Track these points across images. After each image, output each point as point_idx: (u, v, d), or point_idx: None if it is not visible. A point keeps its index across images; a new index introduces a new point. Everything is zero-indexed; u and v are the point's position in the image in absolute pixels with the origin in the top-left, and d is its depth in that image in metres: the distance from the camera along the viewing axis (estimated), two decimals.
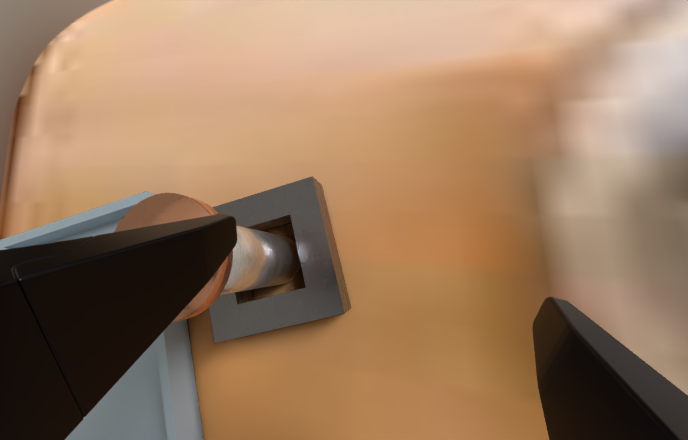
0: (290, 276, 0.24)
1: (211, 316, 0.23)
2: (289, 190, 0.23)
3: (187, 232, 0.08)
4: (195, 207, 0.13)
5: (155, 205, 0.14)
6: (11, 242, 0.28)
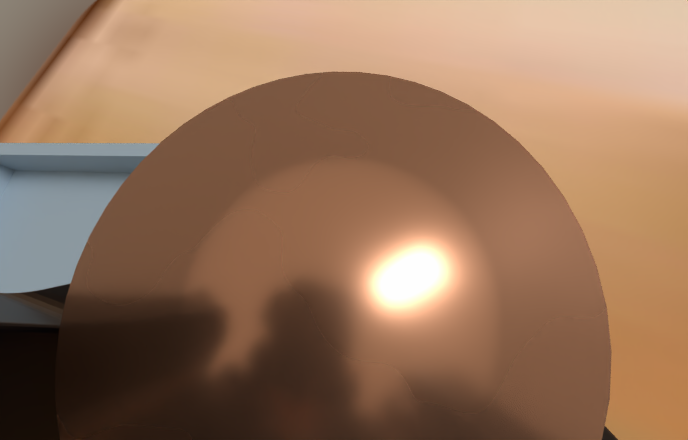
0: None
1: None
2: None
3: None
4: (494, 146, 0.03)
5: (334, 101, 0.04)
6: None
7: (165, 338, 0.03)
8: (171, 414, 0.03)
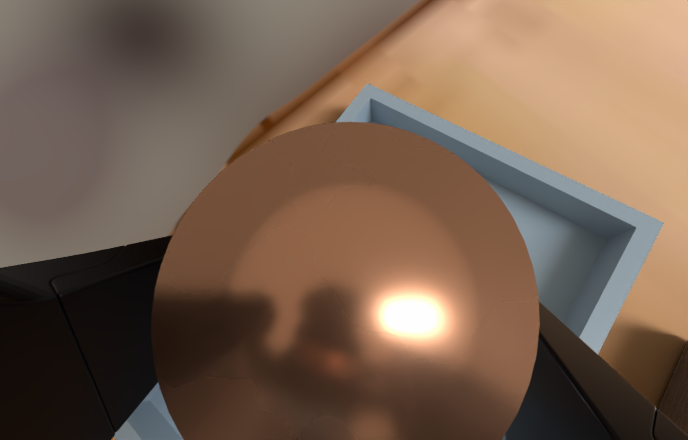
0: None
1: None
2: None
3: None
4: (467, 180, 0.05)
5: (350, 144, 0.05)
6: (385, 101, 0.18)
7: (231, 317, 0.04)
8: (239, 369, 0.04)
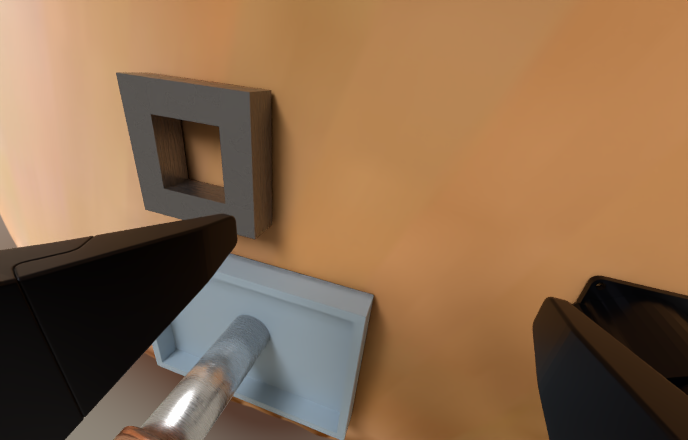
0: (252, 327, 0.28)
1: None
2: (128, 104, 0.21)
3: (187, 232, 0.08)
4: None
5: None
6: (159, 356, 0.33)
7: None
8: None
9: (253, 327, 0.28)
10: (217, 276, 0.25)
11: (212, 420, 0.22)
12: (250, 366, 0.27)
